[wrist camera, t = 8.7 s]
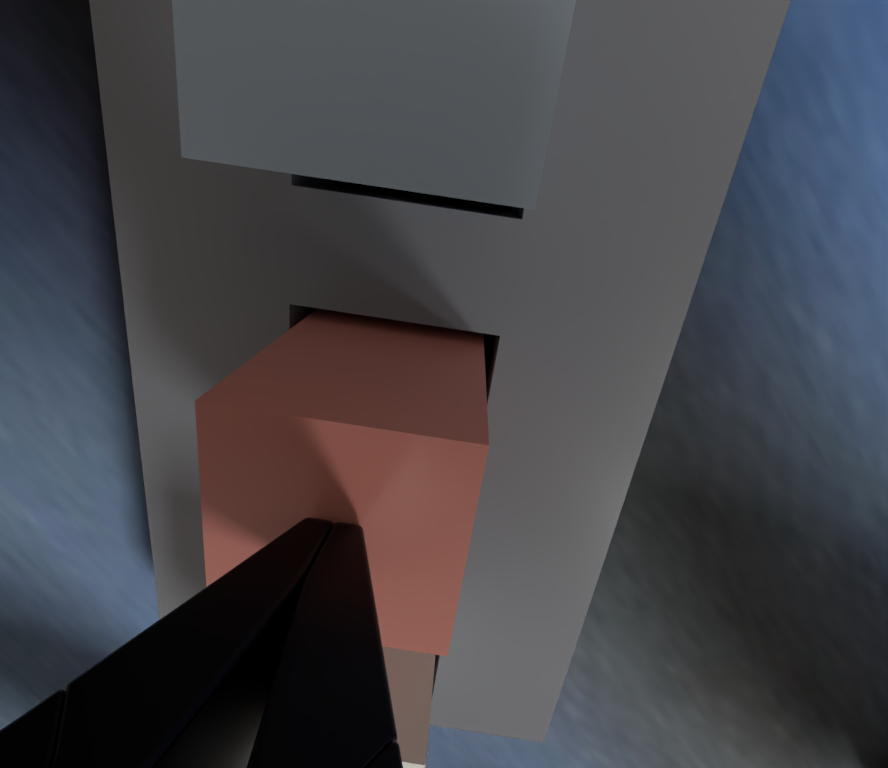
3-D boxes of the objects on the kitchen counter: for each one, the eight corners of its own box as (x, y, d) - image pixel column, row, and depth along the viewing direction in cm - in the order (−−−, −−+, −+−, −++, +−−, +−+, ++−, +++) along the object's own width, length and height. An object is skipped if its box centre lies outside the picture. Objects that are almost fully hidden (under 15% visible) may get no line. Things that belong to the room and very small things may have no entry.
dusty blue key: (542, -18, 9) (637, -313, 4) (505, 199, 11) (534, 210, 5) (340, -48, 10) (148, -381, 4) (330, 173, 11) (181, 157, 5)
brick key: (483, 327, 12) (489, 446, 7) (459, 465, 14) (447, 656, 8) (324, 304, 12) (194, 401, 7) (318, 443, 14) (208, 619, 8)
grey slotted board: (740, -53, 10) (839, -144, 7) (533, 657, 18) (543, 742, 15) (173, -135, 10) (60, -256, 7) (214, 607, 18) (166, 683, 15)
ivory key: (444, 548, 15) (425, 765, 9) (428, 643, 16) (403, 878, 11) (314, 528, 15) (217, 732, 9) (310, 624, 16) (224, 850, 11)
